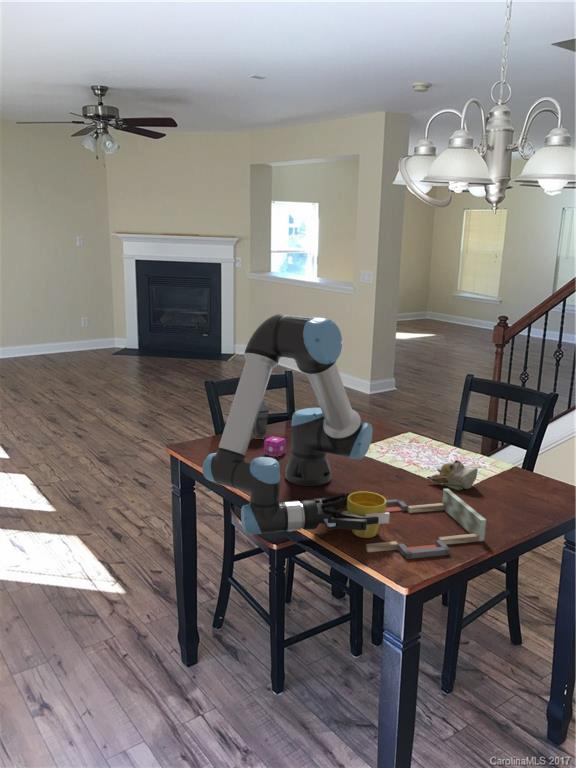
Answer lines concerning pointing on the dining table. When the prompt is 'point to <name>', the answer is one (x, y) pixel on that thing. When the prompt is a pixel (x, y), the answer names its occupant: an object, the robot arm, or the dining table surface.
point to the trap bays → (419, 550)
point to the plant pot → (366, 509)
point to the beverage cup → (261, 421)
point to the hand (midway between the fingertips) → (380, 508)
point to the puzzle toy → (274, 445)
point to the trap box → (456, 510)
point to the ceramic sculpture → (455, 475)
